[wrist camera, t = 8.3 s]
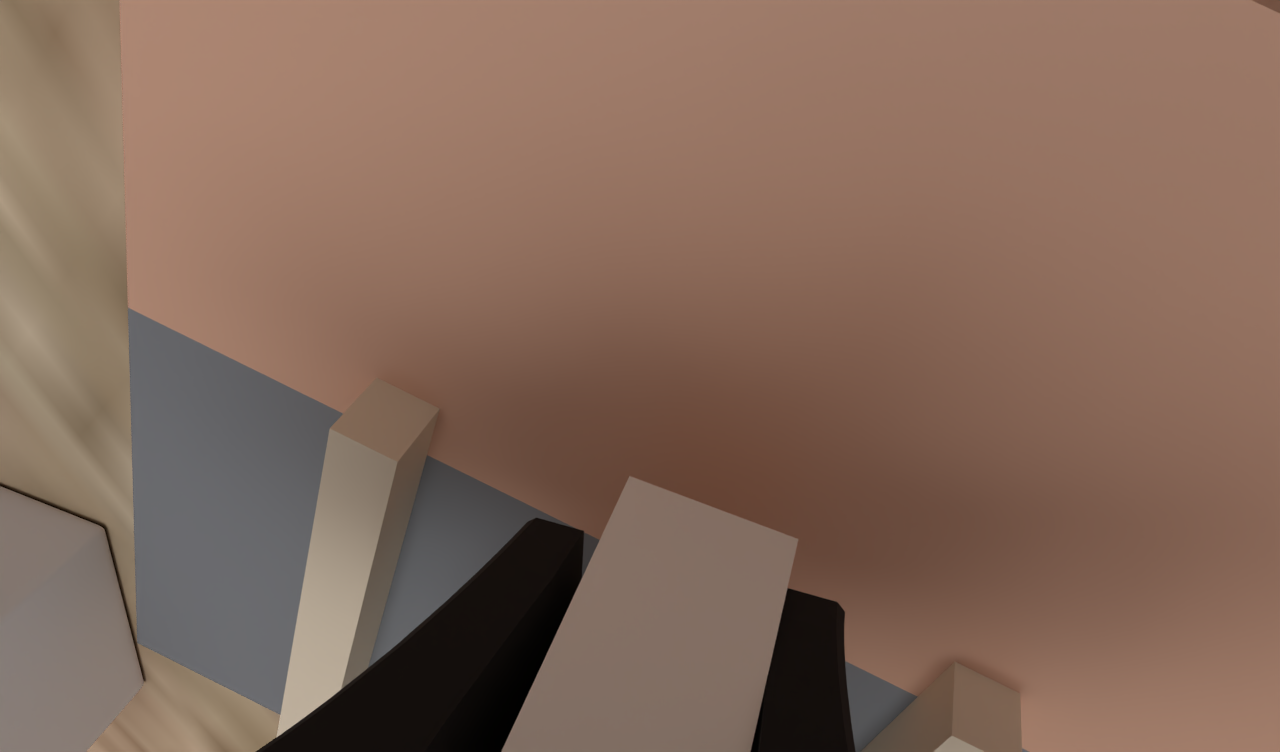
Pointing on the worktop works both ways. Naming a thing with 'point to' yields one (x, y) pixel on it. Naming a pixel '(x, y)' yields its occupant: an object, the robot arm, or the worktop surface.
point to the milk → (59, 630)
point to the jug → (662, 634)
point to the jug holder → (724, 333)
